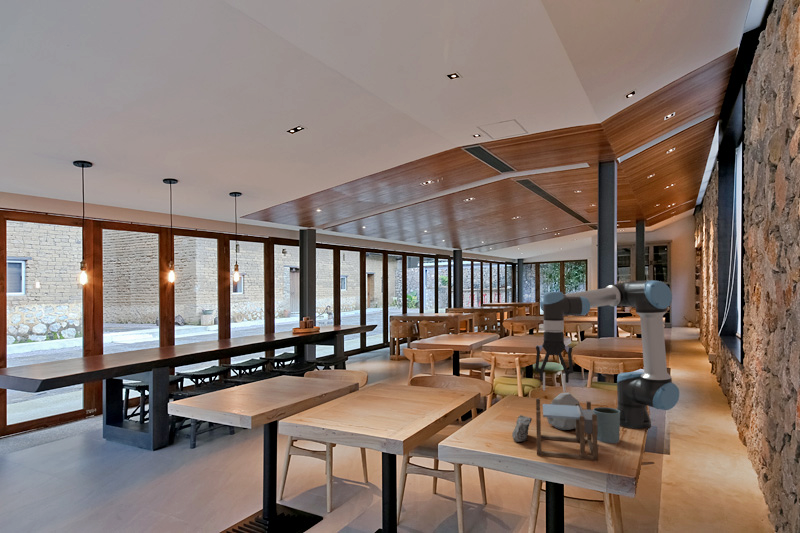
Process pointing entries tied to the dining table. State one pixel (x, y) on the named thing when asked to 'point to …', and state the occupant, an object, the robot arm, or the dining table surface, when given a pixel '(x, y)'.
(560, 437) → the brown wooden frame
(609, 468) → the dining table surface
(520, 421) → the rock
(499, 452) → the dining table surface
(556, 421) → the stone
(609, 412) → the grey-green cylindrical pot
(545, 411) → the grey hammer-shaped piece
